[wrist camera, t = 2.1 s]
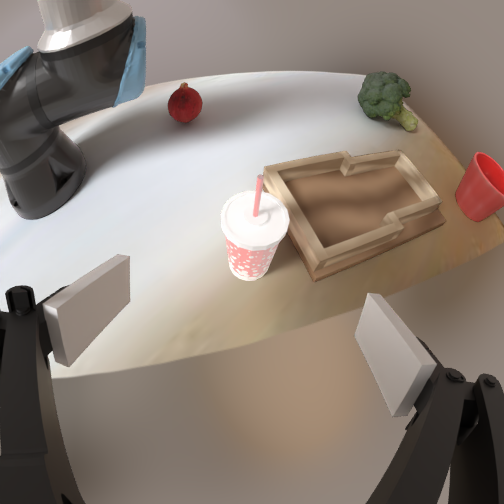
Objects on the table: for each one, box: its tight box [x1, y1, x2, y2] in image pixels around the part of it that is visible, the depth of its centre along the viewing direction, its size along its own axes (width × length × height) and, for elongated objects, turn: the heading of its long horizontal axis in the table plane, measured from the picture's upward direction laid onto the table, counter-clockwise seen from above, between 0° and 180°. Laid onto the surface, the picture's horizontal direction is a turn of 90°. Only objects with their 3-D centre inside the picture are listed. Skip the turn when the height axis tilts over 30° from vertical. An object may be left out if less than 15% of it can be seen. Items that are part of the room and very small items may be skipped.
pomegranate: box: [168, 82, 202, 123], centre depth 42 cm, size 6×6×8 cm
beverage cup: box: [221, 175, 290, 281], centre depth 27 cm, size 6×6×14 cm
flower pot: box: [456, 152, 504, 222], centre depth 38 cm, size 11×11×10 cm
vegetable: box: [358, 72, 418, 131], centre depth 48 cm, size 12×13×15 cm
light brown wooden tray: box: [262, 150, 446, 282], centre depth 37 cm, size 16×26×4 cm, turn 112°
